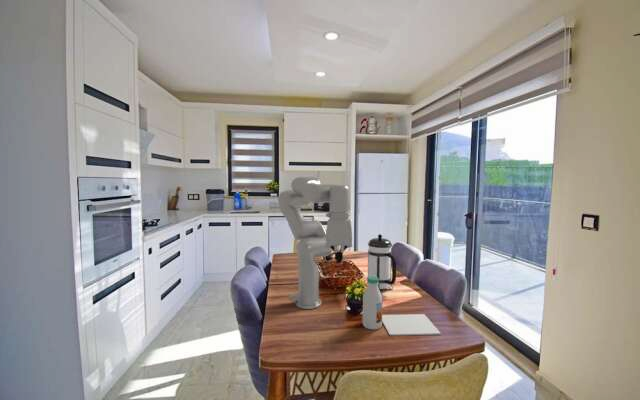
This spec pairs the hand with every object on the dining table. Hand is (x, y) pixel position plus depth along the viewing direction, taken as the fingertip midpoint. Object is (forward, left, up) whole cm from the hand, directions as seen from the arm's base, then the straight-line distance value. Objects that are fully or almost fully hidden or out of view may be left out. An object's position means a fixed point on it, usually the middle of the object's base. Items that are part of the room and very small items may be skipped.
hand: (338, 261), depth 117 cm
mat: (+29, 0, -27) cm, 39 cm away
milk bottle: (+14, 0, -27) cm, 30 cm away
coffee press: (+28, +40, -27) cm, 56 cm away
